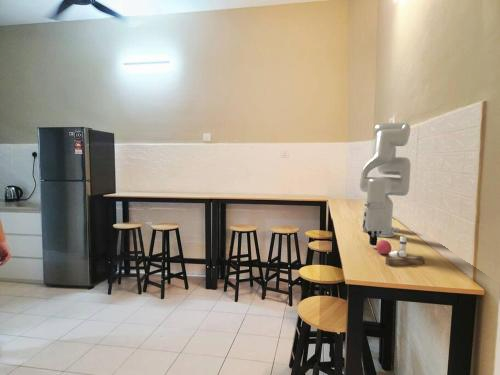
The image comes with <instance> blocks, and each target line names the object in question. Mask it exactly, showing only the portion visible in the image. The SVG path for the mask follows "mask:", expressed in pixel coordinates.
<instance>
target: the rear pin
mask: <svg viewBox="0 0 500 375" xmlns="http://www.w3.org/2000/svg"><path fill="white" fill-rule="evenodd" d="M407 238H408V237H407V236H402V235H401V236H400V237H399V246H398V247H399V249H398V251H405V252H406V253H407V251H406V250H407Z"/></svg>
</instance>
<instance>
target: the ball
mask: <svg viewBox="0 0 500 375" xmlns="http://www.w3.org/2000/svg"><path fill="white" fill-rule="evenodd" d="M391 244H392V243H391V242H389V241H388V240H380V241H379V242H378V241H377V245H376V250H377V252H378V253H379V254H380V255H388V254H389V252H390V251H392V245H391Z"/></svg>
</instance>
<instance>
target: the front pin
mask: <svg viewBox="0 0 500 375" xmlns="http://www.w3.org/2000/svg"><path fill="white" fill-rule="evenodd" d="M387 255H388V256H389V258H390V257H407V256H408V255H407V251H406V252H405V251H399V250H394V251H392V250H391V251H390V252H389V253H388V254H387Z"/></svg>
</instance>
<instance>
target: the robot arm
mask: <svg viewBox="0 0 500 375" xmlns="http://www.w3.org/2000/svg"><path fill="white" fill-rule="evenodd" d="M373 129H374V130H373V133H374V137H375V140H374V149H373V156H372V158H371V159H370V160H368V161H367V162H366V163H365V165H364V166H363V168H362V169H361V174H360V180H359V189H360V190H361V192H363V193H367V195H366V203H364V207H365V209H364V212H363V215H362V232H363V233H365V234H367V236H369V240H368V242H369V245H370V246H372V247H374V246H377V243H378V238H379V237H381V238H393V237H394V236H395V233H394V232H399V231H400V227H393V226H392V225H393V210H394V202H393V200H392V199H391V198H390V196H401V197H404V196H407V195H408V193H409V191H410V179H411V160H410V159H409V158H408V157H405V156H396V154H397V147H405V146H406V145H407V144H408V142H409V138H410V135H411V126H410V124H409V123H408V122H393V123H392V122H388V123H387V122H385V123H378V124H376V125H375V126H374V128H373ZM375 168H377V171H378V173H379V174H381V175H387V176H379V177H377V176H376V177H375V176H368V175H369V173H370V172H371V171H372V170H374V169H375ZM388 175H389V176H388ZM390 175H391V176H390ZM393 176H399V177H393Z"/></svg>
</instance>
